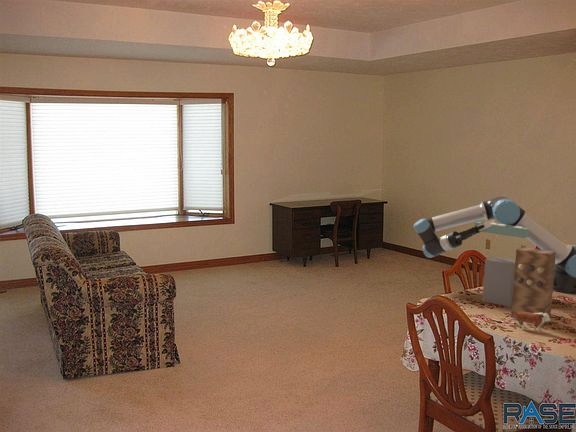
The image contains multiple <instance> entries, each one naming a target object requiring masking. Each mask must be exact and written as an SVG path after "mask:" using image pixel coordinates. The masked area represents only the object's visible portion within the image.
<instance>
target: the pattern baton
mask: <svg viewBox="0 0 576 432" xmlns="http://www.w3.org/2000/svg"><path fill="white" fill-rule="evenodd" d="M485 222H486V221H474V227H476V226H478V225H480V224H483V223H485ZM491 224H492V226H491V227H488V228H486V229H484V230H481V231H479V233H487V234H493V235H494V234H495V235H501V236H508V237H515V238H522V239H527V237H528V236H529V228H523V227H519V226H512V225H504V224H502V223H497V222H496V223H491Z"/></svg>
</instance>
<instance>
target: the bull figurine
mask: <svg viewBox="0 0 576 432" xmlns="http://www.w3.org/2000/svg"><path fill="white" fill-rule="evenodd" d="M517 317H518V319H517ZM515 320H516V321H517V326H518V328H521V330H523V331H526V328H525V325H524V322H525V323H526V325H528V326H529V325H530V324H534V329H533V331H534V332H536V333H537V332H538V331H540V332H541V331H542V329H541V326H542V324H543V323H544V322H547V321H549V322H551V317H550V318H549V315H548V314H547V313H529V312H522V311H517V312H516V318H515Z"/></svg>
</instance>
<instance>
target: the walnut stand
mask: <svg viewBox="0 0 576 432" xmlns="http://www.w3.org/2000/svg"><path fill="white" fill-rule="evenodd" d="M515 250H516V251H515V260H514V261H515V273H514V286H513V298H512V306H511V315H510V318H512V319H516V312H517V311H522V312H529V313H547V314H548V315H549V318H550V319H551V314H552V302H553V291H554V290H553V281H554V270H555V258H556V252H552V251H546V250H541V249H540V248H538V249H537V248H532V247H525V246H522V247H518V248H516V249H515ZM517 319H518V317H517ZM517 319H516V320H517ZM549 322H550V321H547V322H544V323H543V324H542V325H543V326H544V325H546V324H547V323H549ZM542 325H541V326H542Z"/></svg>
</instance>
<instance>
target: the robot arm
mask: <svg viewBox="0 0 576 432" xmlns="http://www.w3.org/2000/svg"><path fill="white" fill-rule="evenodd" d="M481 220H485V221H484V222H485V223H483V224H480V225H478V226H476V227H475V226H474V227H471V228H468V229H467V230H463V231H460V232H457V230H455V231H452V232H449V233H448V234H447V233H446V234H445V235H443V236H440V237H438V235H437V234H436V232H439V231H442V230H446V229H450V228H454V227H458V226H461V225H466V224H469V223H473V222H474V223H475V222H479V221H481ZM497 222H498V224H504V225H512V226H519V227H523V228H529V236H528V237H527V238H526V239H527V240H528V241H529V242H531V244H533V245H535V246H537V248H538V249H539V250H546V251H552V252H556V258H555V270H554V281H553V291H556V292H559V293H565V294H576V245H575V244H565V243H564V242H562V240H559V239H558V238H557V237H555V235H553V234H552V233H550V232H549V231H548V230H546V229H545V228H544V227H542V226H541V225H540V224H539V223H537V222H535V221H534V220H533V219H531V218H530V217H529V216H528V215H527V213H526V210H525V209H523V208H522V207H521V206H520V205H519V204H517V203H516V202H515V201H514V200H512V199H509V198H508V197H505V196H497V197H494V198H491V199H488V200H484V201H481V202H480V204H477V205H473V206H470V207H466V208H462V209H458V210H454V211H451V212H447V213H443V214H440V215H436V216H433V217H429V218H421V219H419V220H417V221H416V222H415V223H414V224H413V228H414V231H415V233H417V235H418V237H419V238H420V240H421V241H422V243H423V245H422V253H423V255H424V256H425V257H426V258H430V259H431V258H434V257H437V256H440V255H442V254H443V253H446V252H451V250H453V249H455V248H458V247H460V246H462V245H463V241H465V240H467V239H469V238H471V237H473V236H475V235H476V234H479V233H480V232H479V231H481V230H484V229H486V228H488V227H491V226H492V224H491V223H497Z"/></svg>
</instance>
